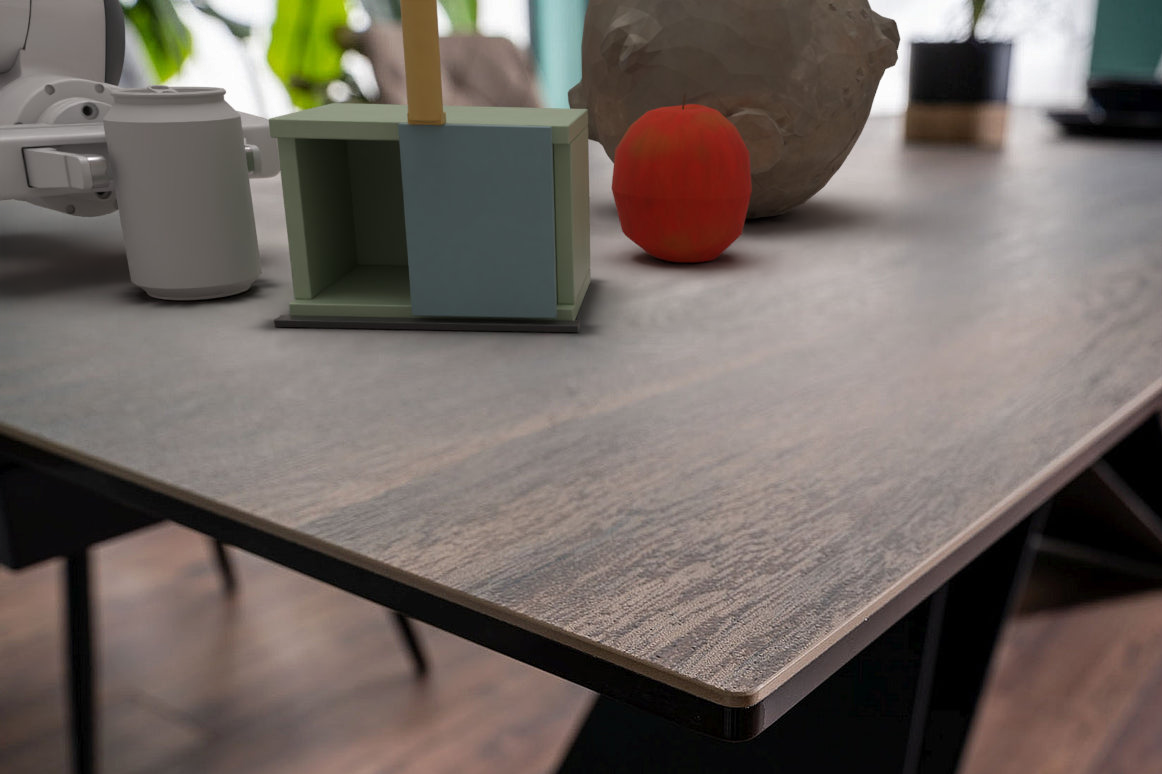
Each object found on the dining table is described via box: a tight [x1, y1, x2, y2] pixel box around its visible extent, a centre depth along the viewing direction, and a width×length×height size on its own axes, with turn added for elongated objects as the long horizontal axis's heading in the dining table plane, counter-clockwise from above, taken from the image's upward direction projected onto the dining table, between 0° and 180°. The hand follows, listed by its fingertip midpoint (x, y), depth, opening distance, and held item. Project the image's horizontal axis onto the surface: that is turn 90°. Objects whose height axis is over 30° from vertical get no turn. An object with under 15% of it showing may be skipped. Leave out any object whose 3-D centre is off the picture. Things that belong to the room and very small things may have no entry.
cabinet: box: [268, 102, 592, 333], centre depth 70 cm, size 17×14×11 cm
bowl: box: [567, 0, 901, 220], centre depth 104 cm, size 27×29×20 cm
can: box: [103, 84, 263, 301], centre depth 71 cm, size 8×8×12 cm
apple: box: [611, 94, 752, 263], centre depth 85 cm, size 10×10×12 cm
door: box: [398, 0, 557, 318], centre depth 62 cm, size 8×2×20 cm, turn 91°
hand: (176, 167), depth 71 cm, fingers open, 8 cm apart
